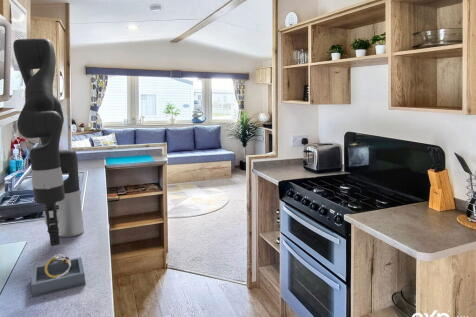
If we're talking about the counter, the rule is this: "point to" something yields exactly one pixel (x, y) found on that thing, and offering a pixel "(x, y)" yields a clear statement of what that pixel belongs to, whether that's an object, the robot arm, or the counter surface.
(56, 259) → the ring
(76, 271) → the dish
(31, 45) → the robot arm
